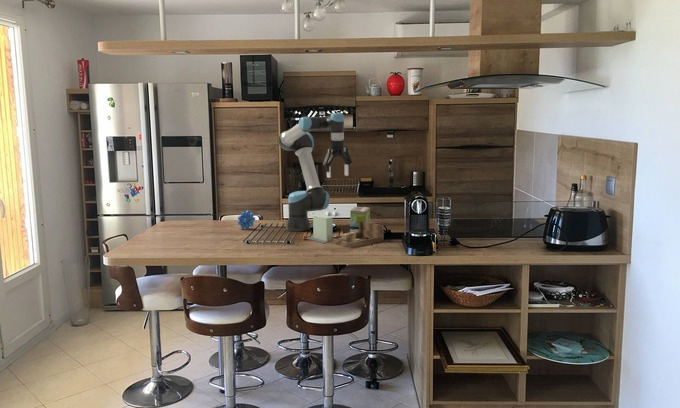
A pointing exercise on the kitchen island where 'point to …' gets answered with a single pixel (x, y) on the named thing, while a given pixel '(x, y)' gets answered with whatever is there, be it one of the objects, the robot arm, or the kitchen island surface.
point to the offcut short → (348, 236)
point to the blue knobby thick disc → (246, 219)
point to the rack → (365, 230)
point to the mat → (317, 240)
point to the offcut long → (349, 240)
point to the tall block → (322, 227)
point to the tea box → (358, 217)
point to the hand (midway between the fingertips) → (337, 176)
